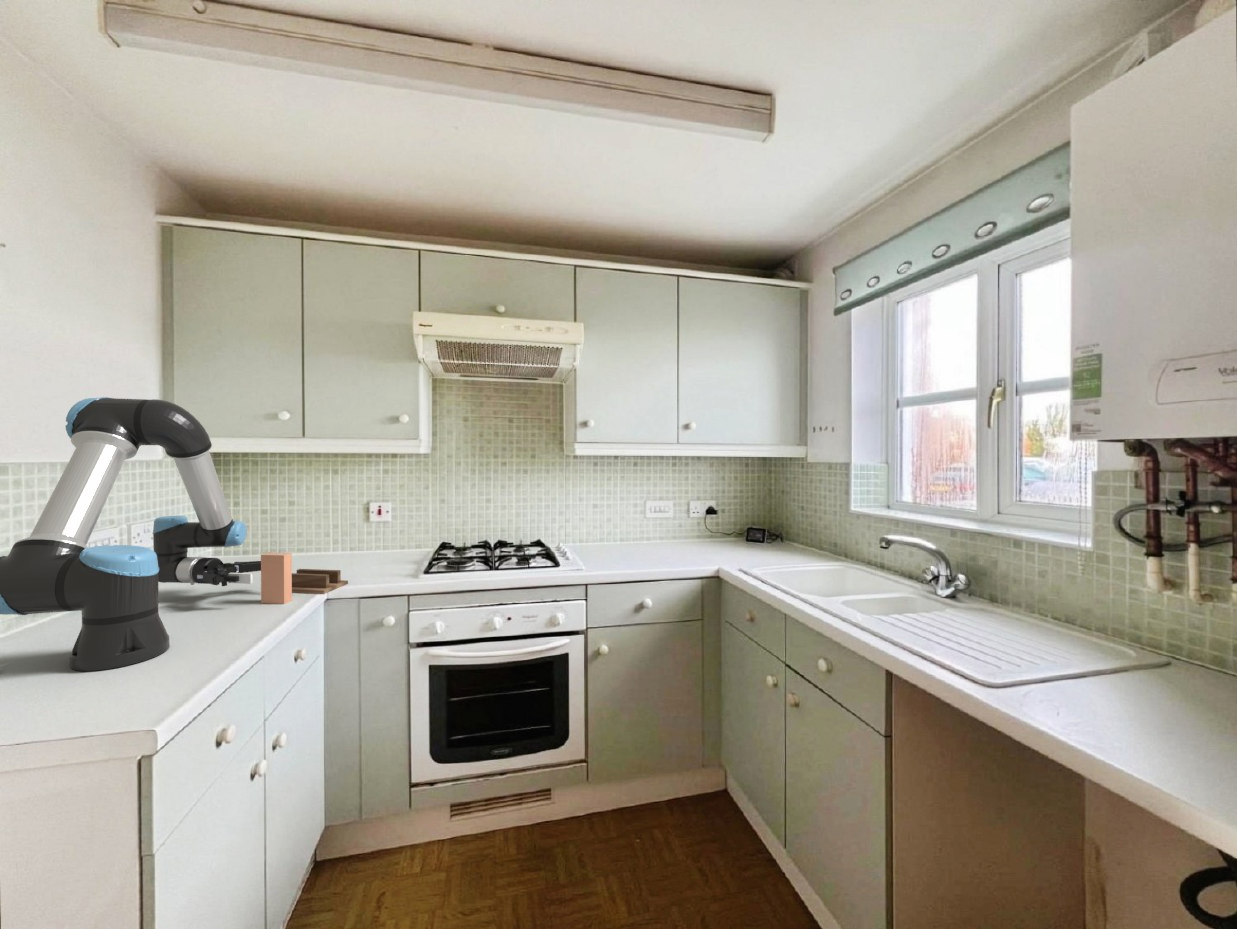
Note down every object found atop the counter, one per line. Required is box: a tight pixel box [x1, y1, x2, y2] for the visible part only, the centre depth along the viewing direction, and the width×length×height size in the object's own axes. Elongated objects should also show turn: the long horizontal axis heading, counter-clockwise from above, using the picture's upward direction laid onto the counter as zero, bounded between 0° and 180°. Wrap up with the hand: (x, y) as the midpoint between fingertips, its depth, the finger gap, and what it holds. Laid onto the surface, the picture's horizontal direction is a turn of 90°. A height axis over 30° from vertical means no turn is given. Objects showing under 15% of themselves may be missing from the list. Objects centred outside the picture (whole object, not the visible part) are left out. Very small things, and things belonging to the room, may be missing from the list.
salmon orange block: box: [260, 552, 293, 605], centre depth 145 cm, size 3×7×14 cm, turn 86°
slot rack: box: [292, 568, 349, 595], centre depth 160 cm, size 12×16×5 cm
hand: (270, 572), depth 146 cm, fingers open, 13 cm apart
